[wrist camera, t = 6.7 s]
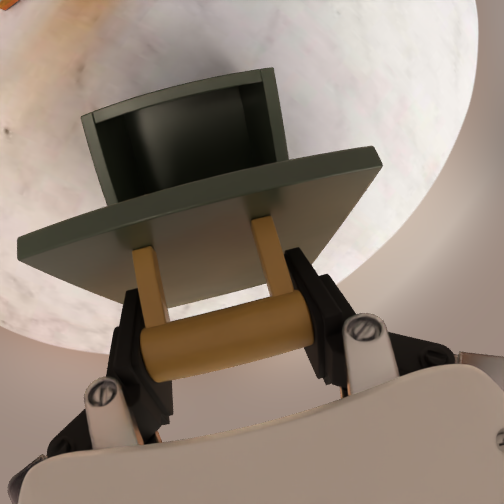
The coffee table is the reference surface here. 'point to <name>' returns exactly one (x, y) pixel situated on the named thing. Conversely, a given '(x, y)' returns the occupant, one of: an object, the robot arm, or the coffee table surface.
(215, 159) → the bin
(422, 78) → the coffee table surface
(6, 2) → the supplement box
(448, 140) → the coffee table surface
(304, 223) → the bin lid
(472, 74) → the coffee table surface
